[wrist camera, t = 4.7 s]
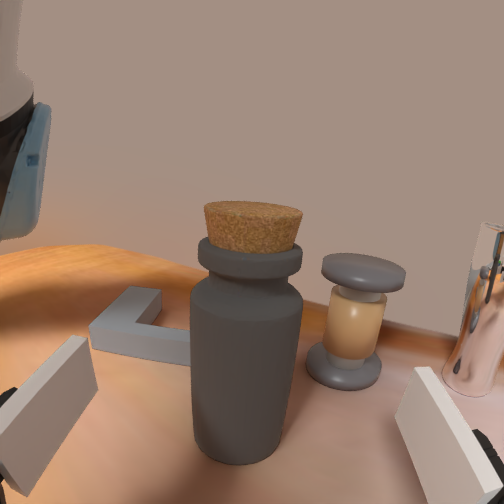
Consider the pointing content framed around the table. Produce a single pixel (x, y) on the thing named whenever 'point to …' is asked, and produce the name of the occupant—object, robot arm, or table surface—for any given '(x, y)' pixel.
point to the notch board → (139, 329)
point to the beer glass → (481, 319)
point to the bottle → (244, 329)
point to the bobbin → (353, 320)
